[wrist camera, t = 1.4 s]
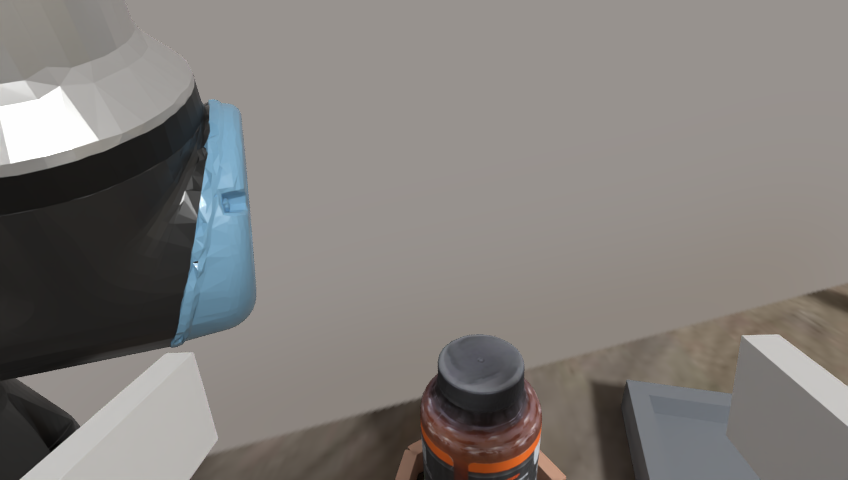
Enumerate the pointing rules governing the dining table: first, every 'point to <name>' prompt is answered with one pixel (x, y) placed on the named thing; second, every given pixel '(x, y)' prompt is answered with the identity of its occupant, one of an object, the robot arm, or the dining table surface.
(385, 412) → the dining table surface
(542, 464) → the holder ring
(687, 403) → the tray
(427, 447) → the supplement bottle
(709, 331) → the dining table surface
